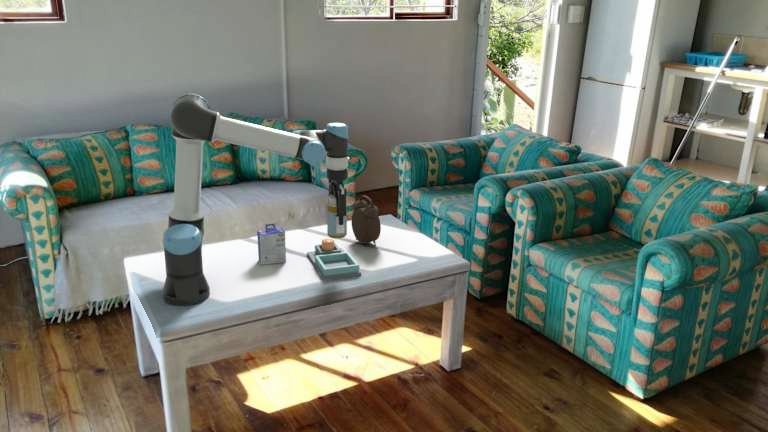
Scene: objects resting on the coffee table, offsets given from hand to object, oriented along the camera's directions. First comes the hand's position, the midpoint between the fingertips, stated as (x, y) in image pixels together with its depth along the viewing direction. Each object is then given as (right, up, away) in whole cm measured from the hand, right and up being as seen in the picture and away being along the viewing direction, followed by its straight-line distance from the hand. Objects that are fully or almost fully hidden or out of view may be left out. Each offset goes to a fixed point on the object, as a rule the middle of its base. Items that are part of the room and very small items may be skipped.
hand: (337, 228), depth 240 cm
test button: (-4, -10, +15) cm, 18 cm away
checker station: (-2, -14, +9) cm, 17 cm away
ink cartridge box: (-25, -13, +11) cm, 30 cm away
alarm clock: (+10, -7, +31) cm, 33 cm away
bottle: (0, -3, +1) cm, 3 cm away
